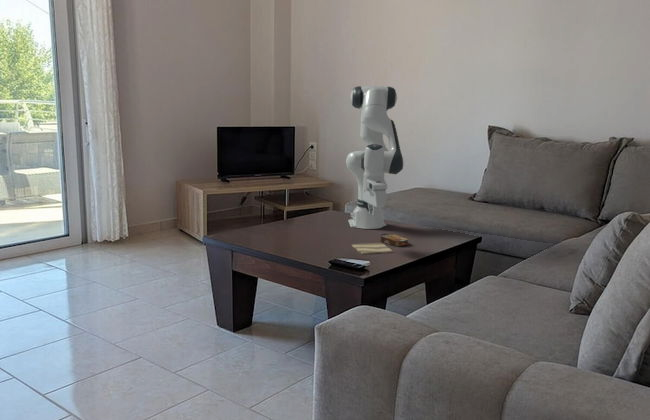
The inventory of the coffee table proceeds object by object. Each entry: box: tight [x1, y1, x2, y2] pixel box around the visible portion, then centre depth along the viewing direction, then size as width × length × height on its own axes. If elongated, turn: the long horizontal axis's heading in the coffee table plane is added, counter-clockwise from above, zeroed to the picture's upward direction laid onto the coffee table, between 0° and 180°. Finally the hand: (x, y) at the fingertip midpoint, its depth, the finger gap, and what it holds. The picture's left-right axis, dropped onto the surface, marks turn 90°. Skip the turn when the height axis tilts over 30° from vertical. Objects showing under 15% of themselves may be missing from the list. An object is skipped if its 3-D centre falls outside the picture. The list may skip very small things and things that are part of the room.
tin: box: [379, 233, 409, 247], centre depth 269 cm, size 15×3×8 cm
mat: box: [351, 242, 394, 255], centre depth 258 cm, size 15×14×1 cm
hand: (372, 214), depth 255 cm, fingers open, 3 cm apart
